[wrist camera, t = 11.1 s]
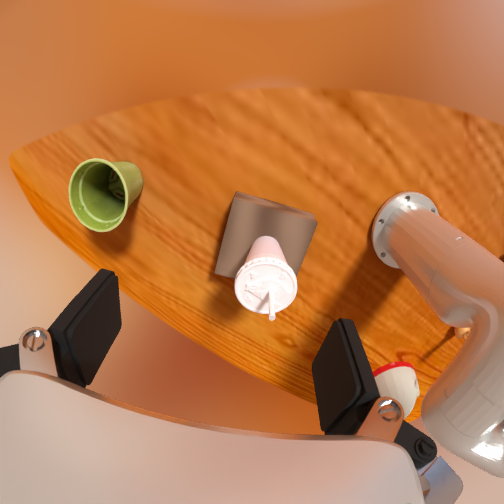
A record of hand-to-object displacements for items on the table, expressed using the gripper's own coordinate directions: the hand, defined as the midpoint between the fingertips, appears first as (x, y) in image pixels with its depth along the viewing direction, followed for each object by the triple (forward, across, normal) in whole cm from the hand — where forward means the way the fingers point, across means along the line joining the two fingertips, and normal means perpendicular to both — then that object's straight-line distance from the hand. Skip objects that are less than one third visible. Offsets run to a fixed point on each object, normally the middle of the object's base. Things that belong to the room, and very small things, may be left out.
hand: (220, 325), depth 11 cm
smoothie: (+24, -4, +7) cm, 26 cm away
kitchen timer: (+28, -41, +36) cm, 61 cm away
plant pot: (+29, +18, +3) cm, 34 cm away
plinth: (+28, -4, +7) cm, 29 cm away
